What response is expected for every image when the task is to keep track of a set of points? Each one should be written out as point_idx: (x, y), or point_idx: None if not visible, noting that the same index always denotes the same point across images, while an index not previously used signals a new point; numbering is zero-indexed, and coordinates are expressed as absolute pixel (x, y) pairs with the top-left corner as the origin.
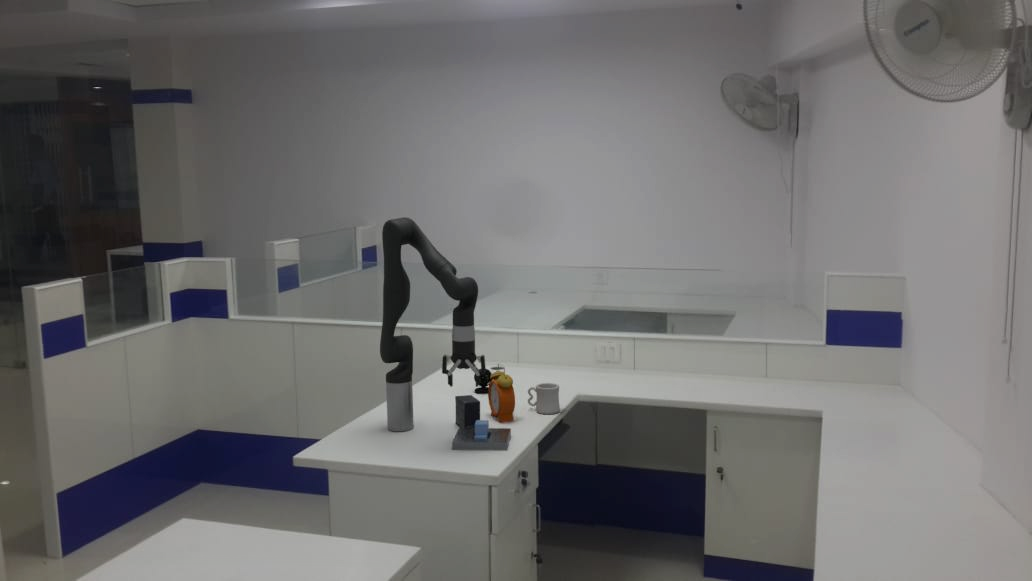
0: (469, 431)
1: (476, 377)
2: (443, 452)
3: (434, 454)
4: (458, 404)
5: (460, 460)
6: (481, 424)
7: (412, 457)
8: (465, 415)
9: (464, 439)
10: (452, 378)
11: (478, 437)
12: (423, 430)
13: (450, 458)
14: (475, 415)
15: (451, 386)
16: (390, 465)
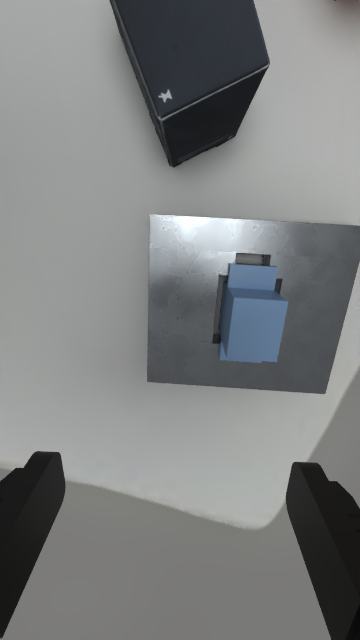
0: (197, 264)
1: (340, 631)
2: (129, 389)
3: (107, 402)
4: (113, 6)
5: (183, 447)
6: (254, 359)
7: (54, 421)
8: (172, 145)
9: (185, 355)
10: (20, 530)
11: (233, 359)
12: (3, 140)
13: (155, 433)
14: (223, 123)
15: (59, 489)
16: (19, 467)
